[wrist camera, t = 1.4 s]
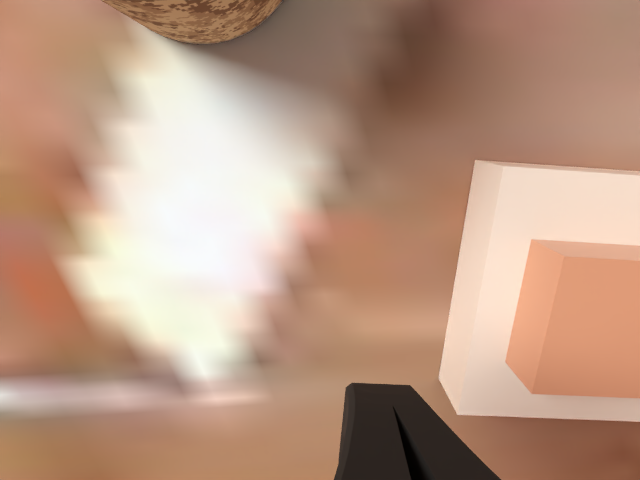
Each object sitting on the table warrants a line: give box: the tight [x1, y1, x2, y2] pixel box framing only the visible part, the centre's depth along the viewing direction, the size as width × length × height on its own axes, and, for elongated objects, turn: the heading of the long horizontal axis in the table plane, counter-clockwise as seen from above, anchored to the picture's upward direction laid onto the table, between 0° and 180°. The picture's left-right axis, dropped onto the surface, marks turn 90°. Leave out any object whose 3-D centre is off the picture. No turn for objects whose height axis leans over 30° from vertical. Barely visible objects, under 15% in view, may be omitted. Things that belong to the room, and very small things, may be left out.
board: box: [439, 160, 640, 422], centre depth 17 cm, size 10×12×2 cm
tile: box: [505, 239, 640, 398], centre depth 15 cm, size 5×7×2 cm
